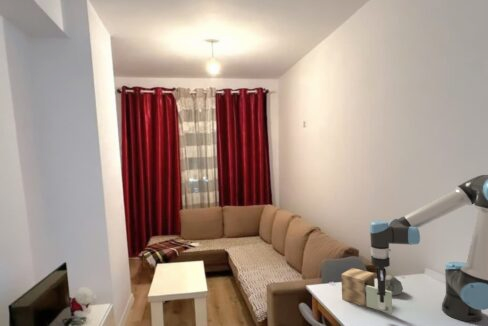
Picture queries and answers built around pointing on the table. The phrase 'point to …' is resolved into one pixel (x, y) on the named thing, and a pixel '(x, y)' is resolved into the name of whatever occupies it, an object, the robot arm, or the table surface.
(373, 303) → the door
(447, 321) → the table surface
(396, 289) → the stone
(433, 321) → the table surface
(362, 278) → the cabinet
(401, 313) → the table surface
